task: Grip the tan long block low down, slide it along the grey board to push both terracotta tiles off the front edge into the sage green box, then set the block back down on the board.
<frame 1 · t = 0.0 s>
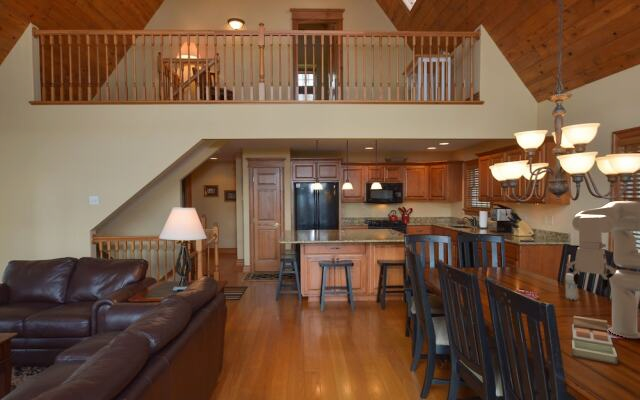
hand: (590, 286, 149), 31 cm above the table, tool pointing down, fingers open, 9 cm apart
tan long block: (590, 329, 172), point 4 cm above the table, touching bench board
bottle: (571, 299, 233), on the table
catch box: (593, 354, 154), on the table
tile a: (600, 337, 162), point 4 cm above the table, touching bench board
tile b: (582, 334, 166), point 4 cm above the table, touching bench board
bench board: (591, 342, 167), on the table
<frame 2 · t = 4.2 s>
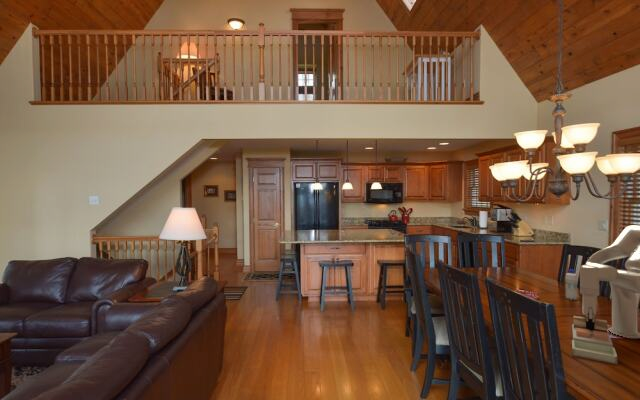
hand: (590, 328, 172), 4 cm above the table, tool pointing down, fingers closed on tan long block, 2 cm apart
tan long block: (590, 329, 172), point 4 cm above the table, touching bench board, gripper
everything else where it was.
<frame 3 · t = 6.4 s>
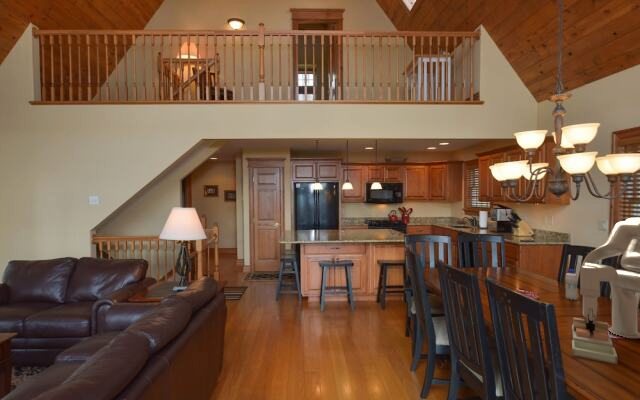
hand: (590, 330, 168), 5 cm above the table, tool pointing down, fingers closed on tan long block, 2 cm apart
tan long block: (590, 331, 168), point 5 cm above the table, touching gripper
tile a: (600, 337, 162), point 4 cm above the table, touching bench board, gripper
tile b: (582, 334, 166), point 4 cm above the table, touching bench board, gripper
everything else where it was.
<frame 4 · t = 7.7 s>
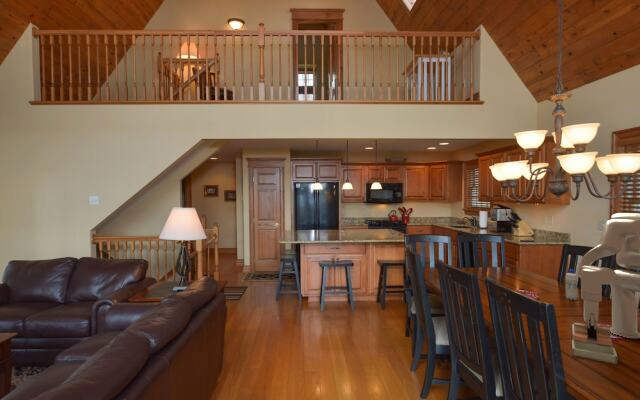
hand: (591, 335, 162), 5 cm above the table, tool pointing down, fingers closed on tan long block, 2 cm apart
tan long block: (591, 336, 162), point 4 cm above the table, touching gripper
tile a: (603, 342, 156), point 4 cm above the table
tile b: (580, 339, 161), point 4 cm above the table, touching bench board, gripper
everything else where it was.
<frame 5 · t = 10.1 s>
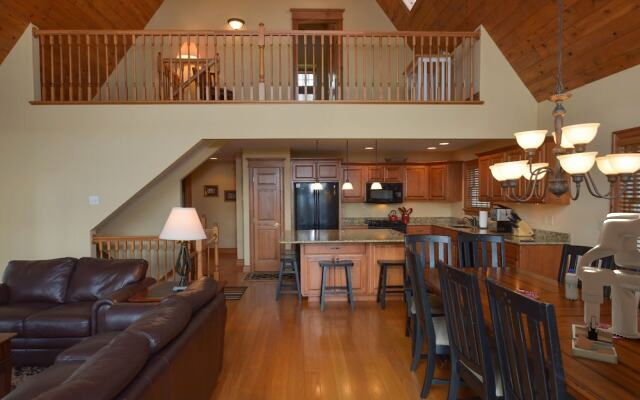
hand: (592, 338, 157), 6 cm above the table, tool pointing down, fingers closed on tan long block, 2 cm apart
tan long block: (593, 339, 157), point 5 cm above the table, touching gripper, tile b
tile a: (605, 352, 150), point 3 cm above the table, tilted 180°, touching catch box
tile b: (582, 342, 157), point 4 cm above the table, tilted 79°, touching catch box, gripper, tan long block
everything else where it was.
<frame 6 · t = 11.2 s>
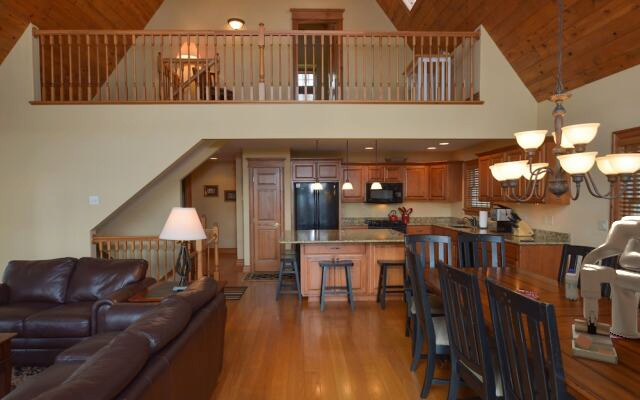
hand: (591, 332, 167), 5 cm above the table, tool pointing down, fingers closed on tan long block, 2 cm apart
tan long block: (591, 333, 167), point 4 cm above the table, touching gripper
tile b: (582, 342, 159), point 3 cm above the table, tilted 48°, touching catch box
everything else where it was.
when the fingers open (5 cm above the table, at t = 12.3 s): tan long block stays where it is, resting on bench board.
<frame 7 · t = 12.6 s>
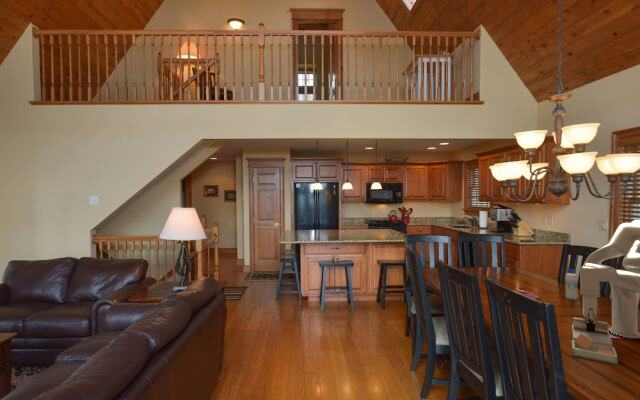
hand: (590, 329, 170), 5 cm above the table, tool pointing down, fingers open, 5 cm apart
tan long block: (590, 330, 170), point 4 cm above the table, touching bench board
everything else where it was.
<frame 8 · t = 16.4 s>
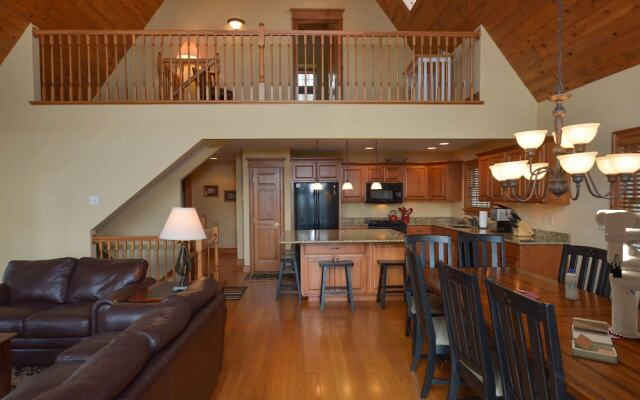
hand: (615, 275, 162), 32 cm above the table, tool pointing down, fingers open, 9 cm apart
nothing on the table moved.
at the end: tile a inside the target area on the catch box (4.2 cm from its centre), point 2.6 cm above the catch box's base; tile b inside the target area on the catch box (5.2 cm from its centre), point 3.2 cm above the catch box's base; the gripper is holding nothing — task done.
